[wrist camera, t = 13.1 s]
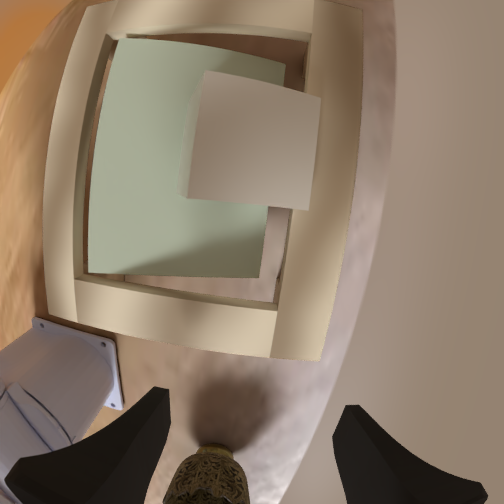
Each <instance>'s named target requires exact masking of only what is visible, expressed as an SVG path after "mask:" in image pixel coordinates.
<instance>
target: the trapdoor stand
mask: <svg viewBox="0 0 504 504" xmlns="http://www.w3.org/2000/svg"><path fill="white" fill-rule="evenodd" d="M179 33H228V34H245V35H257V36H267V37H276V38H283V39H290V40H297V41H303V42H308V45H307V48H306V51H305V54H304V62H303V73H302V78H305V87H304V93H307V94H310V95H313V96H316V97H319V98H321V105H320V116H319V126H318V136H317V146H316V155H315V163H314V172H313V180H312V188H311V196H310V203H309V211H306V210H298V209H290V214H289V221H288V229H287V236H286V243H285V249H284V256H283V263H282V269H281V276H280V278H277V280H276V286H275V293H274V299H273V303H271V302H262V301H253V300H245V299H237V298H229V297H221V296H214V295H207V294H200V293H193V292H186V291H179V290H173V289H166V288H160V287H154V286H148V285H142V284H136V283H130V282H124V274H107V273H88V261H86V262H84V263H83V213H84V195H85V182H86V172H87V163H88V154H89V147H90V140H91V134H92V127H93V122H94V116H95V111H96V106H97V101H98V97H99V92H100V88H101V84H102V79H103V75H104V72H105V68H106V64H107V61H108V58H109V59H110V60H111V61H113V58H114V54H115V51H116V48H117V44H118V41H119V38H136V39H147V38H146V37H145V36H150V35H162V34H179ZM362 89H363V11H362V10H361V9H358V8H354V7H350V6H347V5H343V4H339V3H335V2H330V1H326V0H113V1H108V2H104V3H100V4H96V5H92V6H89V7H87V9H86V11H85V13H84V16H83V18H82V20H81V23H80V25H79V28H78V31H77V33H76V36H75V39H74V42H73V44H72V47H71V50H70V53H69V56H68V60H67V63H66V66H65V70H64V73H63V77H62V80H61V84H60V88H59V92H58V96H57V101H56V105H55V110H54V115H53V120H52V126H51V131H50V138H49V144H48V152H47V160H46V169H45V180H44V195H43V260H44V275H45V286H46V296H47V304H48V311H49V314H50V315H53V316H56V317H60V318H63V319H66V320H70V321H73V322H77V323H80V324H84V325H88V326H91V327H95V328H99V329H103V330H107V331H111V332H115V333H120V334H124V335H128V336H133V337H137V338H142V339H147V340H152V341H157V342H162V343H167V344H172V345H178V346H184V347H190V348H196V349H202V350H209V351H216V352H223V353H231V354H239V355H247V356H256V357H266V358H277V359H290V360H304V361H320V357H321V353H322V350H323V346H324V342H325V338H326V334H327V330H328V326H329V322H330V317H331V313H332V309H333V304H334V300H335V295H336V291H337V286H338V281H339V276H340V271H341V266H342V261H343V255H344V250H345V244H346V238H347V232H348V226H349V220H350V213H351V206H352V199H353V192H354V184H355V176H356V167H357V158H358V148H359V137H360V124H361V109H362Z"/></svg>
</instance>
